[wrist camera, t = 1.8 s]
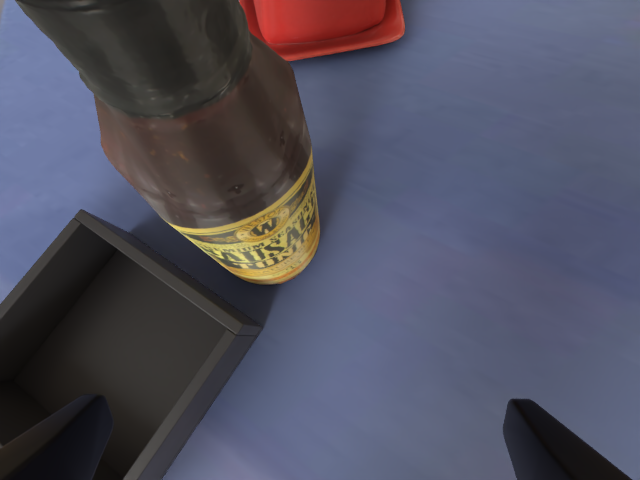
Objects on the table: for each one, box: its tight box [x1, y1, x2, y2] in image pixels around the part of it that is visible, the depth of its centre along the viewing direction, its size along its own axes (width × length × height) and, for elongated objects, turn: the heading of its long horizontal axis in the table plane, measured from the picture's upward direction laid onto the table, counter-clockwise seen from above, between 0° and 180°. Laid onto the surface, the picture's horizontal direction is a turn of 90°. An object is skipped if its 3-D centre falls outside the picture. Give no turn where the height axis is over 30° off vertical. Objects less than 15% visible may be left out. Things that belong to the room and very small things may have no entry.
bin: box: [0, 209, 263, 480], centre depth 20 cm, size 11×11×4 cm
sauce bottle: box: [15, 0, 320, 285], centre depth 14 cm, size 7×6×20 cm
